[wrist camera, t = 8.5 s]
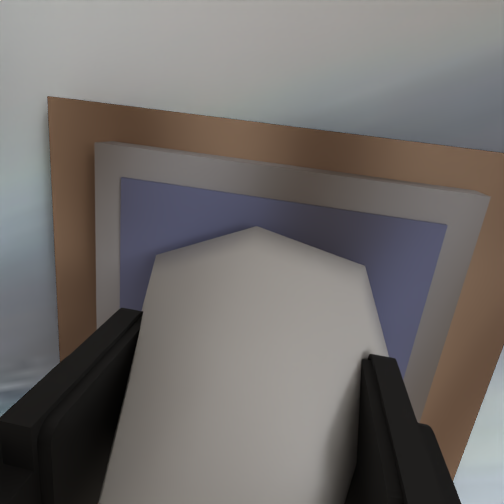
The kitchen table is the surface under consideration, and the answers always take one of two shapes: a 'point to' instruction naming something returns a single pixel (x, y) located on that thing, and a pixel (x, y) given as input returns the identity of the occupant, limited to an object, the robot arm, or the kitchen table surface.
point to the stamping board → (291, 230)
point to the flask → (245, 376)
